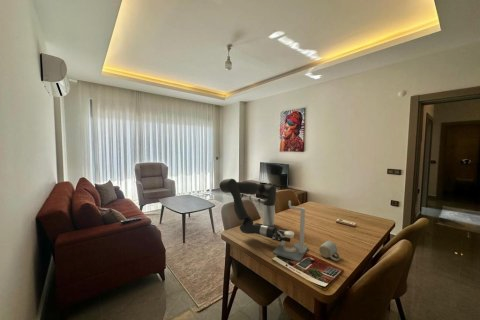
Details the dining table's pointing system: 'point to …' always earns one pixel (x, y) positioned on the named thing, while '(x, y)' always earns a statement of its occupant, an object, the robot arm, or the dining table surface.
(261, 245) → the dining table surface
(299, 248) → the stand
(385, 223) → the dining table surface
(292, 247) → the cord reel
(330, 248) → the ceramic mug
